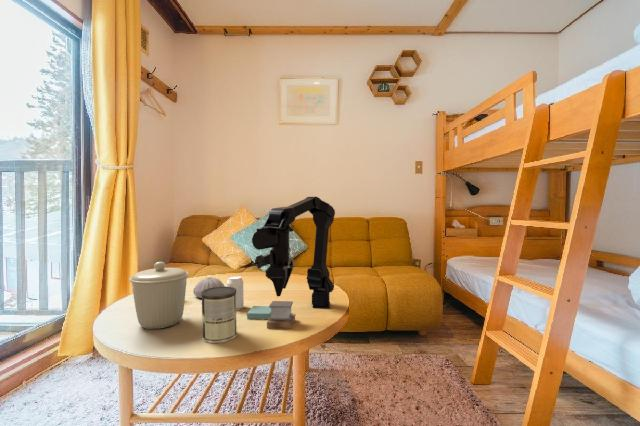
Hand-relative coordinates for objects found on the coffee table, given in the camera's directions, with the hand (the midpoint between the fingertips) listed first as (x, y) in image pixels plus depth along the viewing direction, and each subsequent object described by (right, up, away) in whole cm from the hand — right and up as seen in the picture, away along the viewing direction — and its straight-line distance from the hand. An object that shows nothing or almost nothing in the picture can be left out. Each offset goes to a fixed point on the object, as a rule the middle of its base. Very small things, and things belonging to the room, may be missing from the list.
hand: (281, 292), depth 110 cm
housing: (0, -9, 0) cm, 9 cm away
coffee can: (-18, -12, -9) cm, 23 cm away
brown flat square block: (0, -11, 0) cm, 11 cm away
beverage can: (-20, -10, +17) cm, 28 cm away
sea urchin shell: (-35, -10, +34) cm, 50 cm away
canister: (-41, -11, +2) cm, 42 cm away
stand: (-8, -11, +9) cm, 16 cm away
